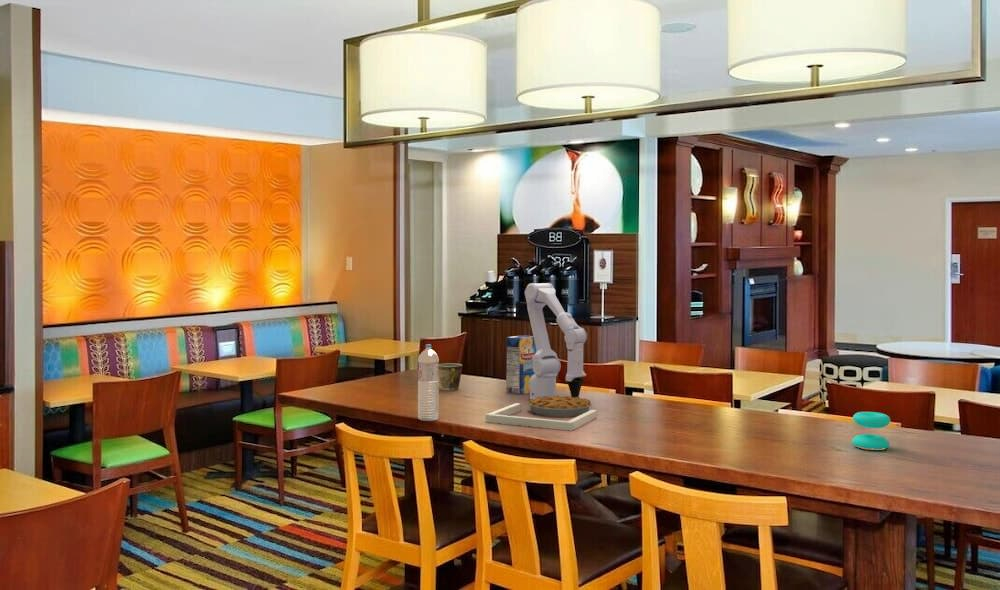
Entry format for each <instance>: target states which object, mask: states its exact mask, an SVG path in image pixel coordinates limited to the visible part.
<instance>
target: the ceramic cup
mask: <svg viewBox="0 0 1000 590" xmlns="http://www.w3.org/2000/svg"><path fill="white" fill-rule="evenodd" d="M462 372H463V364H461V363H456V362H455V363H453V362H452V363H451V362H450V363H448V362H446V363H438V378H439V382H440V388H441V390H442V391H444V390H448V391H447V392H451V391H452V390H455V391H458V390H459V389H460V388H459V387H460V382H461V376H462Z"/></svg>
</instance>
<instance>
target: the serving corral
mask: <svg viewBox="0 0 1000 590" xmlns="http://www.w3.org/2000/svg"><path fill="white" fill-rule="evenodd" d="M521 411H522V403H520V402H519V403H518V402H515V403H513V404H511V405H507V406H505V407H502V408H499V409H496V410H494V411H492V412H489V413H485V423H488V422H492V423H491V424H498V423H501V424H500V425H508V424H510V425H511V426H518V425H521V426H520V427H528V426H531V428H538V427H542V428H541V429H548V428H549V429H550V430H560V431H568V430H569V431H571V432H572V431H574V430H576V429H578V428H579V427H581V426H584V425H585V424H587V423H589V422H592V421H593V420H594V419H597V417H598V410H597V409H590V410H588V412H586V413H584V414H582V415H580V416H575V417H573V418H572V419H569V420H568V421H567V420H560V419H559V420H558V419H549V418H548V419H547V418H537V417H526V416H517V415H514V414H517V413H519V412H521ZM508 415H509V416H508ZM510 425H509V426H510Z"/></svg>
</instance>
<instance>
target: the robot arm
mask: <svg viewBox="0 0 1000 590" xmlns="http://www.w3.org/2000/svg"><path fill="white" fill-rule="evenodd" d="M556 293H557V292H556V289H555V288H554V285H553V284H552V283H551V282H546V283H545V282H542V283H534V282H533V283H532V282H531V283H528V284H527V286H526V288H525V290H524V296H525V297H524V298H525V300H526V306H527V313H528V317H529V321H530V327H531V331H532V336H533V337H534V341H535V346H536V351H537V352H536V353H535V355H534V356H533V357H532V360H533V371H534V373H535V374H536V375H533V376H532V377H531V380H530V393H529V400H531V399H535V398H536V397H540V398H541V397H544V396H547V397H553V396H557V376H558V374H559V372H560V371H561V367H562V365H561V361H560V360H559V358H558V355H557V353H556V352H555V351H554V350H552V348H551V345H550V339H549V334H548V331H547V327H546V320H545V316H544V311H543V308H544V307H545V306H548V308H549V309H550V310H551V311H552V312H553V314H554V315H555V316H556V319H555V321H556V323H557V326H559V328H560V329H561V331H562V332H563V334H564V337H563V338H564V342H565V343H566V346H565V347H566V349H567V367H566V368H567V371H566V375H565V381H566V384H567V386H568V389H569V393H570V395H571V396H570V397H579V396H580V393H581V388H582V386H583V384H584V382H585V378H584V377H586V376H587V373H585V370H584V344H585V343H586V341H587V340H588V333H587V332H586V330H585V328H584V327H580V326H579V325H578V324H577V322H576V321H575V319H574V318H573V316H572V314H571V313H569V312H566V311H565V310H564V308H563V306H562V304H561V303H560V301H559V298H557V296H556ZM581 377H583V378H581ZM579 398H580V397H579Z"/></svg>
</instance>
